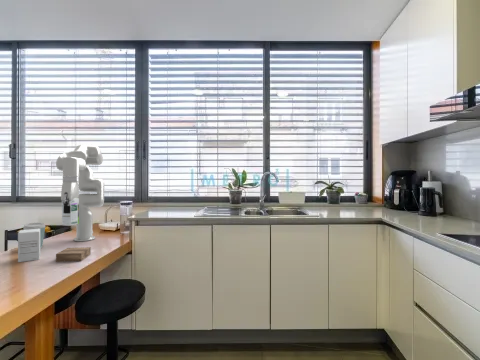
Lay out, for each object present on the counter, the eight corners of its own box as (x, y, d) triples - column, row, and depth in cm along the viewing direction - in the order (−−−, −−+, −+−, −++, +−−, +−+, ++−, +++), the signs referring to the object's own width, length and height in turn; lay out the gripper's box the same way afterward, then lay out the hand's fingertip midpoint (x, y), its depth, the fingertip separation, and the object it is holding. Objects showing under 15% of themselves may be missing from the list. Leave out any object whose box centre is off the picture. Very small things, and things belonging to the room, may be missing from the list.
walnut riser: (67, 254, 149) (67, 247, 149) (90, 254, 151) (90, 247, 151) (55, 261, 137) (56, 254, 137) (81, 261, 139) (81, 253, 139)
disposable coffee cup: (49, 247, 163) (49, 223, 163) (29, 252, 153) (29, 226, 153) (39, 245, 167) (39, 221, 167) (19, 249, 158) (19, 224, 157)
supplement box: (19, 257, 143) (19, 229, 143) (40, 255, 148) (40, 228, 148) (17, 262, 135) (17, 233, 135) (39, 259, 140) (39, 231, 140)
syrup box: (70, 225, 143) (70, 198, 143) (61, 225, 144) (61, 198, 144) (79, 224, 148) (79, 197, 148) (70, 223, 150) (70, 197, 150)
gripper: (71, 179, 154) (71, 210, 154) (54, 179, 137) (54, 214, 137) (85, 179, 155) (85, 210, 155) (70, 180, 138) (70, 214, 138)
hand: (70, 212), depth 146 cm, fingers closed on syrup box, 7 cm apart
